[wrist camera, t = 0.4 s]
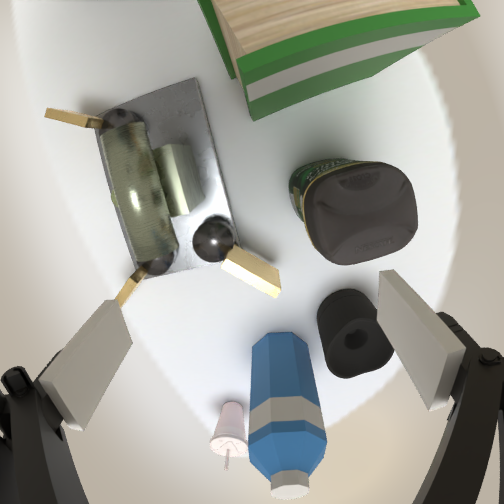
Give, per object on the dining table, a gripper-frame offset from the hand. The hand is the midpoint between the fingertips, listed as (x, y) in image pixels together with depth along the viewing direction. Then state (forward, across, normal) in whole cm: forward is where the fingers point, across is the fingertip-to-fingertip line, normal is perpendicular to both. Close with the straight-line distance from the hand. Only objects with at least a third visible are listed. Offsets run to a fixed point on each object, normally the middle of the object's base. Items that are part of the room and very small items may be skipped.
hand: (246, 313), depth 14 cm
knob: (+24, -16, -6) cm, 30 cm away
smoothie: (+27, -9, -36) cm, 45 cm away
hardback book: (+27, +8, +17) cm, 33 cm away
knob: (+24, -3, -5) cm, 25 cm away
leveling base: (+27, -11, +5) cm, 30 cm away
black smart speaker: (+27, +11, -18) cm, 34 cm away
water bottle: (+27, +1, -24) cm, 36 cm away
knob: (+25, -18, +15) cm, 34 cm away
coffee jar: (+27, +9, +1) cm, 29 cm away
